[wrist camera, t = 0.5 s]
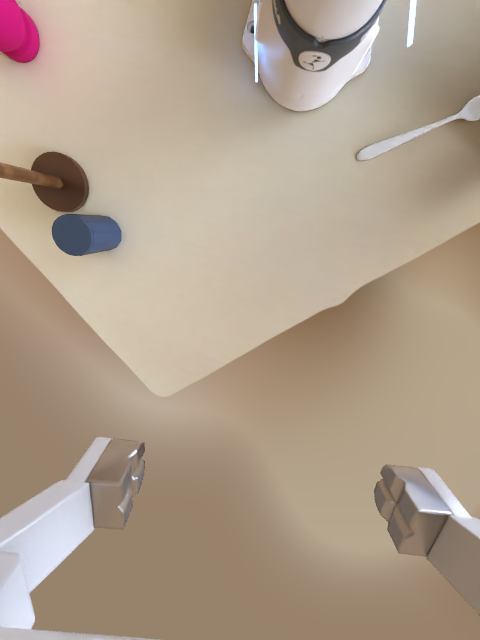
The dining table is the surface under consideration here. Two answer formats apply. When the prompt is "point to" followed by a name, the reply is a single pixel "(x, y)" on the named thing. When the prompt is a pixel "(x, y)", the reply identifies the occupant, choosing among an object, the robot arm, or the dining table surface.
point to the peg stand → (53, 180)
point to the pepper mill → (17, 33)
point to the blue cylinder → (85, 234)
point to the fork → (420, 131)
